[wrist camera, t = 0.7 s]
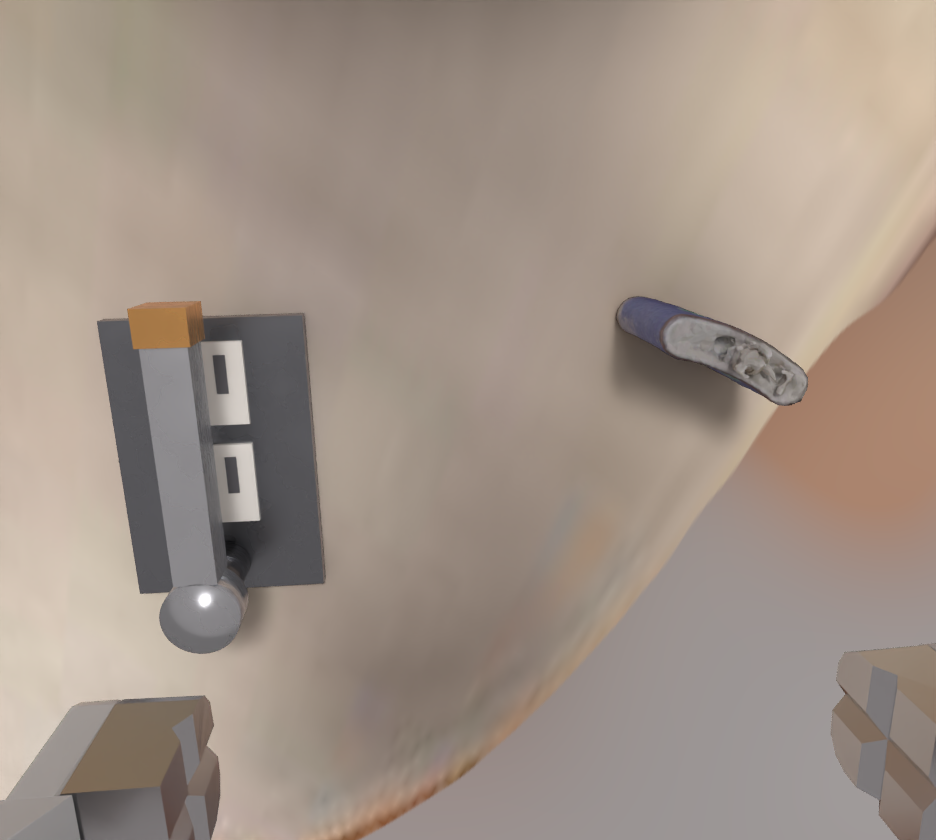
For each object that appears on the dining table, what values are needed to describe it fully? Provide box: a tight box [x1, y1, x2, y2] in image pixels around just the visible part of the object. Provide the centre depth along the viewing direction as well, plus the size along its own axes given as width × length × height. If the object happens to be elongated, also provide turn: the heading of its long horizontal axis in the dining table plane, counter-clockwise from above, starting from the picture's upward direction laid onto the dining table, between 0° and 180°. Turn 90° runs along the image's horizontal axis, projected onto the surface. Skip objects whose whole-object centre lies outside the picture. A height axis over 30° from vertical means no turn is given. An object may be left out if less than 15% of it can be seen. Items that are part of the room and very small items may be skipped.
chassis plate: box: [97, 313, 325, 594], centre depth 46 cm, size 18×12×1 cm, turn 1°
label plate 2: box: [213, 442, 261, 522], centre depth 46 cm, size 5×5×1 cm
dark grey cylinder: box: [225, 542, 251, 582], centre depth 46 cm, size 3×3×4 cm
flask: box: [616, 296, 808, 406], centre depth 42 cm, size 9×3×11 cm, turn 66°
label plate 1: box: [201, 340, 251, 426], centre depth 44 cm, size 5×5×1 cm
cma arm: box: [127, 301, 249, 654], centre depth 40 cm, size 20×4×3 cm, turn 1°
